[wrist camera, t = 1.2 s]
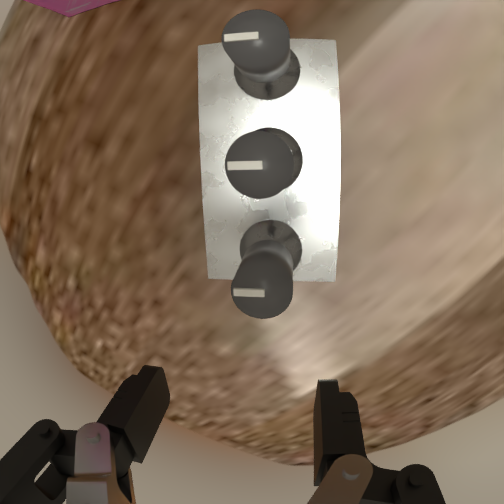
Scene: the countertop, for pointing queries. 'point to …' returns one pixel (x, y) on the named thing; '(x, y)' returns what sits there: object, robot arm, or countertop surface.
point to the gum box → (70, 5)
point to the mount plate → (302, 147)
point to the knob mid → (259, 164)
